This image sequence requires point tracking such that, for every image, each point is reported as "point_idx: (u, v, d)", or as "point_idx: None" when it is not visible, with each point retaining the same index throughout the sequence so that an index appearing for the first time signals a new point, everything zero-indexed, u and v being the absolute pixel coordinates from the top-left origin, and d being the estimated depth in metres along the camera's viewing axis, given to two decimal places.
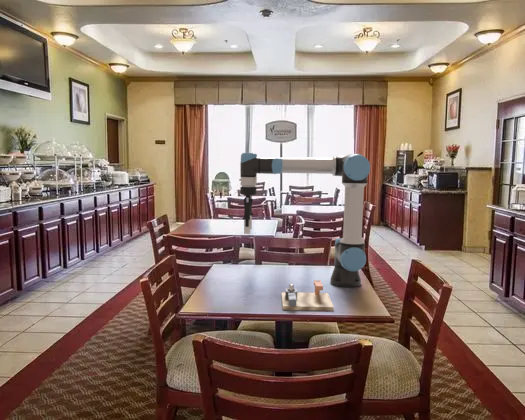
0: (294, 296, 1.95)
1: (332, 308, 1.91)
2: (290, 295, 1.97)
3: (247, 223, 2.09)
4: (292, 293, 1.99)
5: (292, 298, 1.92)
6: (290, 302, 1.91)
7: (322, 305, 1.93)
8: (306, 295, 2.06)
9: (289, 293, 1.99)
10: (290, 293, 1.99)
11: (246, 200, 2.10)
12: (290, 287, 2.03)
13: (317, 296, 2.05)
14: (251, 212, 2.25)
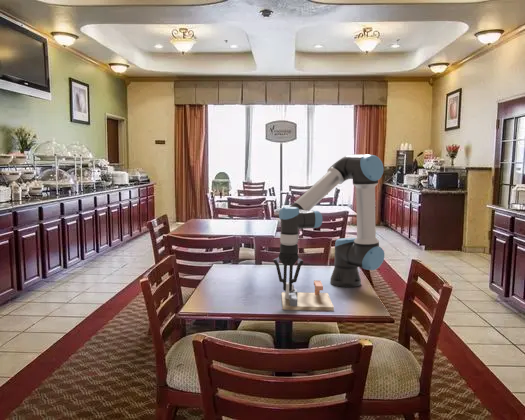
0: (295, 296, 1.95)
1: (332, 308, 1.91)
2: (291, 295, 1.97)
3: (283, 286, 1.97)
4: (292, 293, 1.99)
5: (293, 298, 1.92)
6: (291, 302, 1.91)
7: (322, 305, 1.93)
8: (306, 295, 2.06)
9: (289, 293, 1.99)
10: (290, 293, 1.99)
11: None
12: None
13: (317, 296, 2.05)
14: (291, 280, 1.96)
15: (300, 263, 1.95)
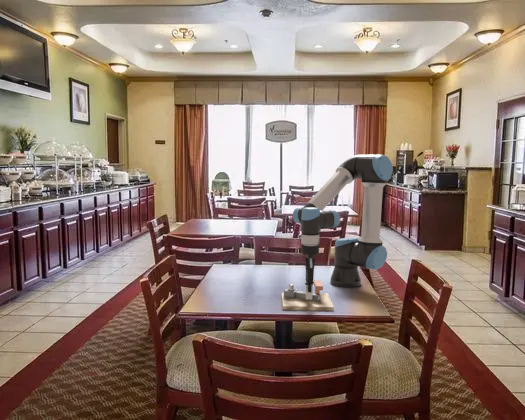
0: None
1: (332, 308, 1.91)
2: None
3: (310, 288, 1.95)
4: (301, 291, 2.02)
5: (316, 294, 1.99)
6: (318, 298, 1.97)
7: (322, 305, 1.93)
8: None
9: (300, 292, 2.01)
10: (300, 292, 2.01)
11: (310, 267, 1.90)
12: (290, 287, 2.03)
13: None
14: None
15: None
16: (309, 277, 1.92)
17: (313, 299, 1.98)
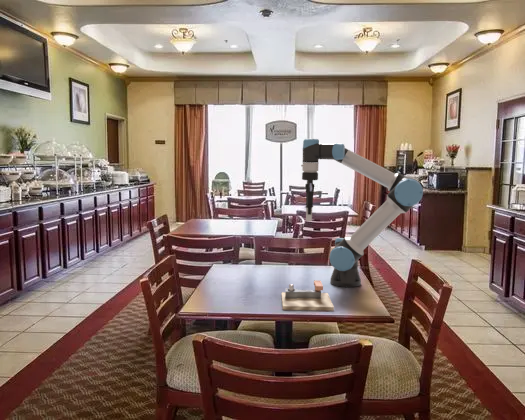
0: (311, 290, 2.04)
1: (332, 308, 1.91)
2: (308, 291, 2.03)
3: (310, 211, 2.20)
4: (301, 290, 2.04)
5: (318, 291, 2.03)
6: None
7: (322, 305, 1.93)
8: None
9: (301, 291, 2.03)
10: (301, 291, 2.03)
11: (309, 190, 2.15)
12: (290, 287, 2.03)
13: None
14: None
15: None
16: (309, 200, 2.17)
17: (316, 296, 2.02)
